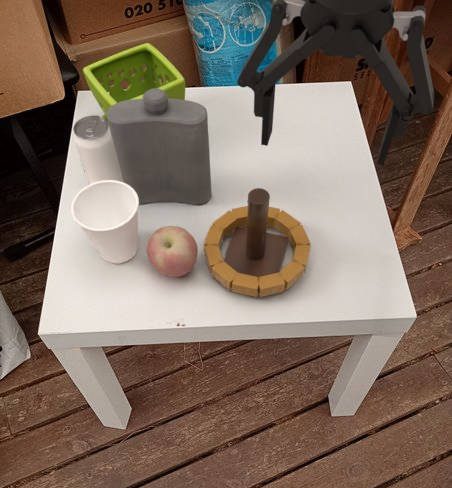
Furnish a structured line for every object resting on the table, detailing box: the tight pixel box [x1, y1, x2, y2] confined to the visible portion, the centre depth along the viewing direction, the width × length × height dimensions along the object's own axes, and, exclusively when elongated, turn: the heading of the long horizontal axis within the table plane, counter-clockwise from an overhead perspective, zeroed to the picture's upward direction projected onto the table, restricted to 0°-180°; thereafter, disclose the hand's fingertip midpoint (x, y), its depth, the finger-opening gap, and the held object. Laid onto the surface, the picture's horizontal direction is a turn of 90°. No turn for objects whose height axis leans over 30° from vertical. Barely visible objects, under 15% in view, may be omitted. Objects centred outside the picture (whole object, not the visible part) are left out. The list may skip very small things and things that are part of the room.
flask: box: [106, 88, 213, 206], centre depth 80 cm, size 15×6×20 cm, turn 88°
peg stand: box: [223, 187, 289, 277], centre depth 75 cm, size 9×9×14 cm
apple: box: [146, 225, 199, 277], centre depth 77 cm, size 8×8×8 cm
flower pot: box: [82, 42, 186, 125], centre depth 92 cm, size 14×14×13 cm
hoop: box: [203, 205, 311, 298], centre depth 79 cm, size 16×16×2 cm
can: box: [72, 114, 123, 185], centre depth 86 cm, size 6×6×12 cm
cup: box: [70, 180, 140, 264], centre depth 78 cm, size 10×10×11 cm
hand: (322, 147), depth 59 cm, fingers open, 13 cm apart
